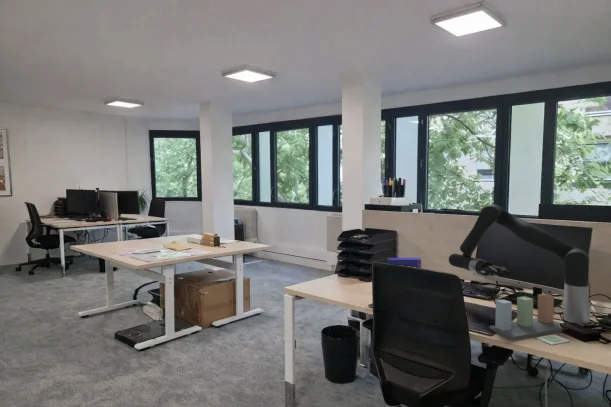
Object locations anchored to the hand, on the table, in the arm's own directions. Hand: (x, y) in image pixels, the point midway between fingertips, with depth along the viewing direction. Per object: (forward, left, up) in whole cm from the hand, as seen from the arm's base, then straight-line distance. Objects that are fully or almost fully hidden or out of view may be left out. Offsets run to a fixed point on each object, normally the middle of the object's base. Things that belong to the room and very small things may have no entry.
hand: (507, 274), depth 185 cm
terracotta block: (-15, +4, -20) cm, 26 cm away
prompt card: (-10, +22, -22) cm, 33 cm away
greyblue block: (+7, +14, -20) cm, 26 cm away
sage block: (-4, +9, -20) cm, 23 cm away
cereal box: (+44, -27, -22) cm, 56 cm away
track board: (-5, +11, -22) cm, 25 cm away
